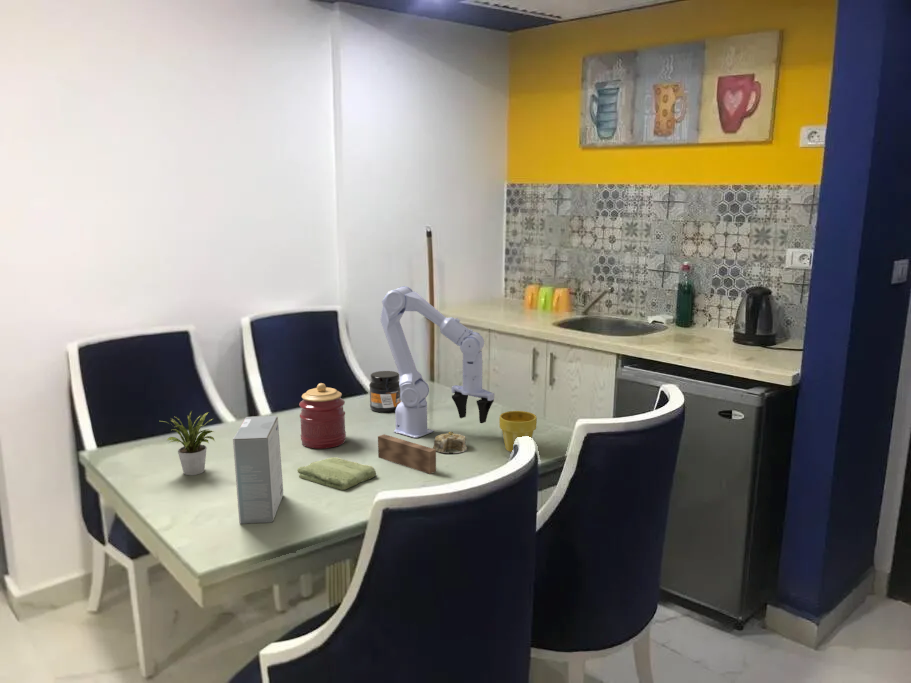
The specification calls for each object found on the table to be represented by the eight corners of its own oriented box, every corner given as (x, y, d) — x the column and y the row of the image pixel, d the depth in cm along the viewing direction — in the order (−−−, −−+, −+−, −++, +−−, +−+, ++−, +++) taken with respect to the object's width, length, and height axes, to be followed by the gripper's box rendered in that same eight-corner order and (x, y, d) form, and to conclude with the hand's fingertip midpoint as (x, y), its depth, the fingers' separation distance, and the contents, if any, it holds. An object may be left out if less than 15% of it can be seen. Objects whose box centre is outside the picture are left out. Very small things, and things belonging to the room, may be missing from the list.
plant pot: (534, 456, 201) (534, 422, 199) (496, 454, 203) (497, 420, 201) (537, 444, 211) (538, 411, 209) (502, 442, 213) (502, 409, 211)
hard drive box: (251, 495, 176) (246, 416, 172) (283, 494, 176) (279, 415, 172) (238, 524, 160) (232, 437, 156) (273, 523, 161) (268, 436, 157)
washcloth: (331, 463, 198) (330, 451, 197) (379, 477, 188) (379, 466, 187) (293, 478, 188) (293, 466, 187) (342, 494, 177) (342, 482, 177)
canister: (315, 453, 204) (313, 391, 201) (292, 441, 214) (289, 382, 210) (354, 442, 213) (353, 383, 209) (331, 431, 222) (328, 375, 219)
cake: (427, 447, 211) (427, 429, 210) (460, 443, 214) (459, 425, 214) (440, 456, 201) (439, 437, 201) (473, 451, 205) (473, 433, 204)
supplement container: (388, 415, 239) (387, 379, 236) (363, 410, 244) (362, 375, 242) (407, 407, 247) (407, 372, 245) (383, 402, 253) (382, 368, 251)
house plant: (163, 487, 181) (157, 424, 177) (157, 469, 193) (151, 409, 190) (222, 477, 187) (218, 415, 184) (213, 459, 199) (208, 402, 196)
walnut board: (378, 457, 201) (377, 436, 200) (384, 454, 202) (384, 434, 201) (429, 474, 189) (429, 451, 187) (436, 471, 190) (435, 449, 189)
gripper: (444, 373, 214) (445, 418, 217) (483, 381, 205) (483, 428, 208) (460, 369, 220) (460, 412, 222) (498, 376, 210) (498, 422, 213)
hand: (472, 419), depth 215 cm, fingers open, 7 cm apart
